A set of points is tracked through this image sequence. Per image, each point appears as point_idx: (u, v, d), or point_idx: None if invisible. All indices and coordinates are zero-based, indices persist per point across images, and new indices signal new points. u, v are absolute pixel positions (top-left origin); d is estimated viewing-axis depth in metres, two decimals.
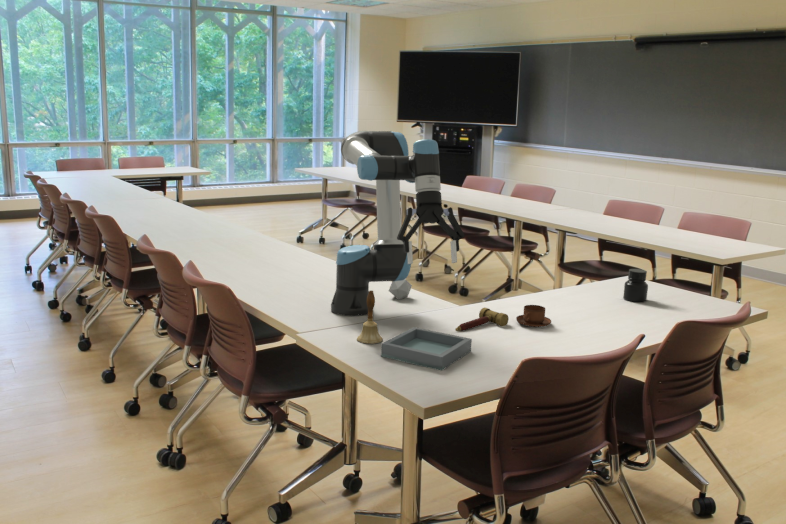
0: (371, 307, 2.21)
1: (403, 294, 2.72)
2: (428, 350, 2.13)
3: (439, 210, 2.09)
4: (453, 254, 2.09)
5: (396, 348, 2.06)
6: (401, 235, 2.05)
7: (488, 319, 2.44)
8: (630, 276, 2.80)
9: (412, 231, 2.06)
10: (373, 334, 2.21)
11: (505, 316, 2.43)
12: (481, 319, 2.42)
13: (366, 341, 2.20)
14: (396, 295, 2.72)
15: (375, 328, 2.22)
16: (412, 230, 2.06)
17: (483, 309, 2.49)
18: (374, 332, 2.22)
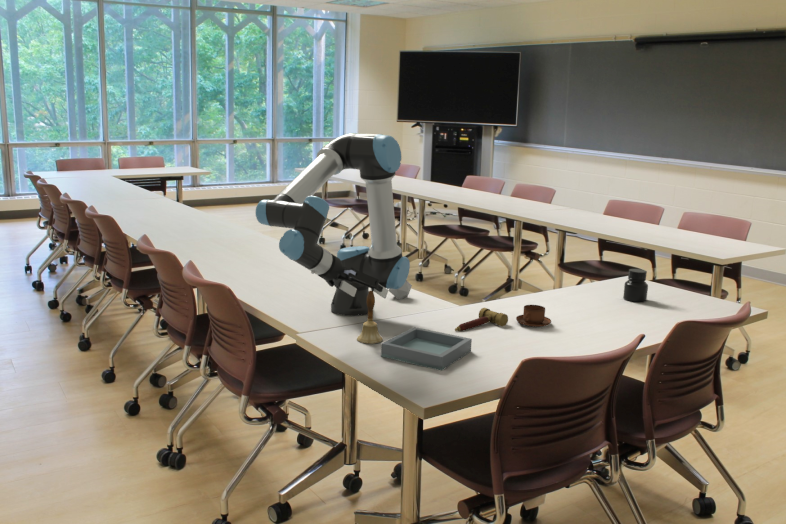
0: (371, 307, 2.21)
1: (403, 294, 2.72)
2: (428, 350, 2.13)
3: (342, 275, 2.07)
4: None
5: (396, 348, 2.06)
6: (330, 285, 2.20)
7: (488, 319, 2.44)
8: (630, 276, 2.80)
9: (335, 284, 2.17)
10: (373, 334, 2.21)
11: (505, 316, 2.43)
12: (480, 319, 2.42)
13: (366, 341, 2.20)
14: (396, 295, 2.72)
15: (375, 328, 2.22)
16: (335, 283, 2.16)
17: (483, 309, 2.49)
18: (374, 332, 2.22)
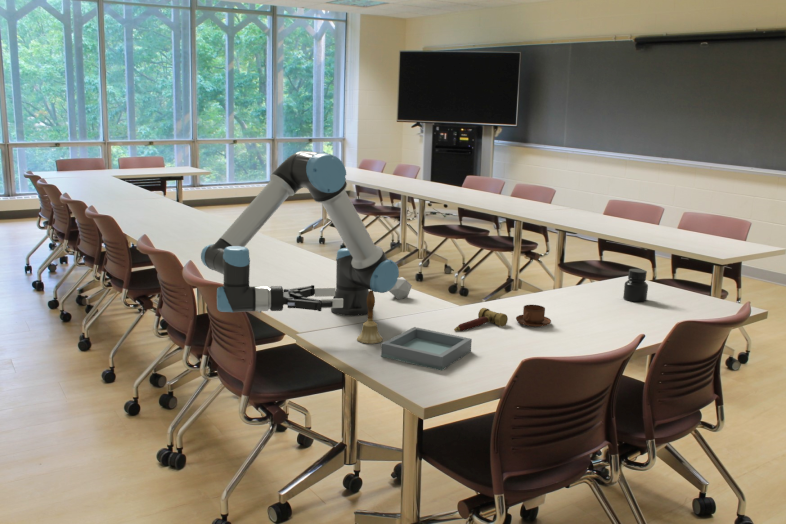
0: (371, 307, 2.21)
1: (403, 294, 2.72)
2: (428, 350, 2.13)
3: None
4: None
5: (396, 348, 2.06)
6: None
7: (487, 319, 2.43)
8: (630, 276, 2.80)
9: None
10: (373, 334, 2.21)
11: (504, 316, 2.43)
12: (480, 319, 2.42)
13: (366, 341, 2.20)
14: (396, 295, 2.72)
15: (375, 328, 2.22)
16: None
17: (482, 309, 2.48)
18: (374, 332, 2.22)
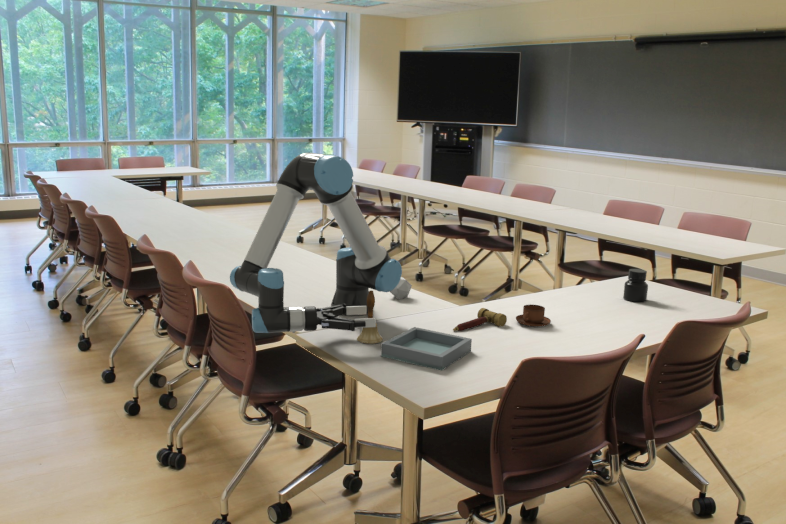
0: (371, 307, 2.21)
1: (403, 294, 2.72)
2: (428, 350, 2.13)
3: None
4: None
5: (396, 348, 2.06)
6: None
7: (486, 319, 2.43)
8: (630, 276, 2.80)
9: None
10: (373, 334, 2.21)
11: (503, 316, 2.43)
12: (479, 319, 2.41)
13: (366, 341, 2.20)
14: (396, 295, 2.72)
15: (375, 328, 2.22)
16: None
17: (481, 309, 2.48)
18: (374, 332, 2.22)
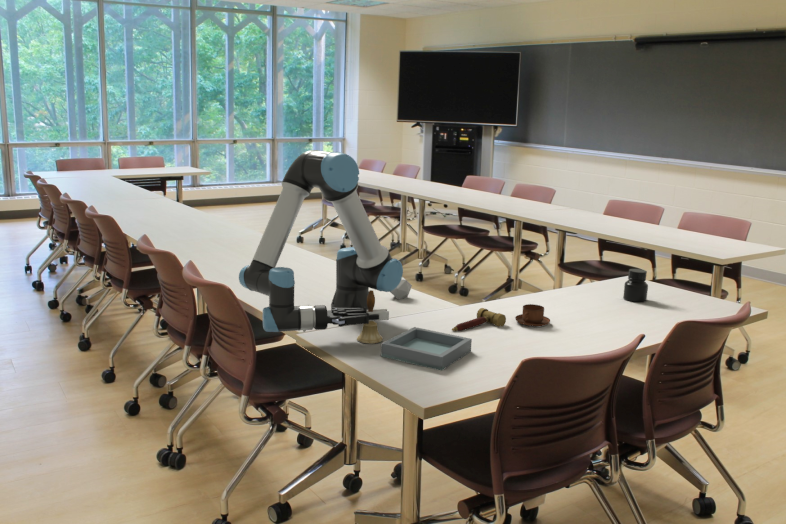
0: (371, 307, 2.21)
1: (403, 294, 2.72)
2: (428, 350, 2.13)
3: None
4: None
5: (396, 348, 2.06)
6: None
7: (485, 319, 2.43)
8: (630, 276, 2.80)
9: None
10: (373, 334, 2.21)
11: (502, 316, 2.42)
12: (478, 319, 2.41)
13: (366, 341, 2.20)
14: (396, 295, 2.72)
15: (375, 328, 2.22)
16: None
17: (481, 309, 2.48)
18: (374, 332, 2.22)
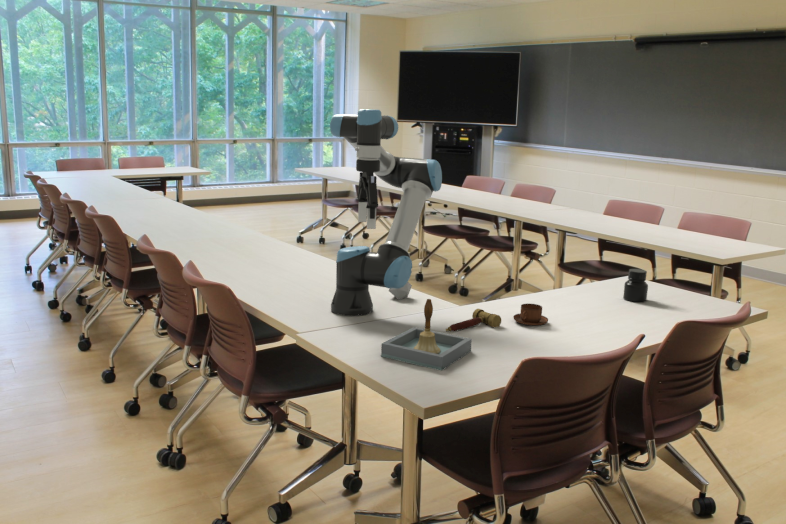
0: (429, 316, 2.10)
1: (403, 294, 2.72)
2: None
3: (366, 177, 2.22)
4: None
5: (396, 348, 2.06)
6: (357, 196, 2.35)
7: (480, 320, 2.42)
8: (630, 276, 2.80)
9: (359, 194, 2.32)
10: (431, 345, 2.10)
11: (497, 317, 2.41)
12: (473, 320, 2.40)
13: None
14: (396, 295, 2.72)
15: (433, 338, 2.10)
16: (360, 193, 2.32)
17: (476, 310, 2.47)
18: (432, 343, 2.10)
